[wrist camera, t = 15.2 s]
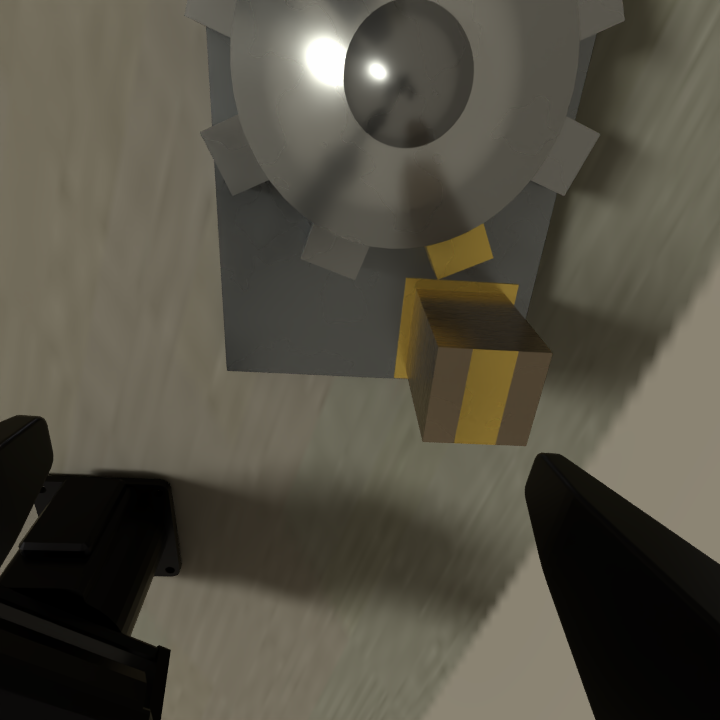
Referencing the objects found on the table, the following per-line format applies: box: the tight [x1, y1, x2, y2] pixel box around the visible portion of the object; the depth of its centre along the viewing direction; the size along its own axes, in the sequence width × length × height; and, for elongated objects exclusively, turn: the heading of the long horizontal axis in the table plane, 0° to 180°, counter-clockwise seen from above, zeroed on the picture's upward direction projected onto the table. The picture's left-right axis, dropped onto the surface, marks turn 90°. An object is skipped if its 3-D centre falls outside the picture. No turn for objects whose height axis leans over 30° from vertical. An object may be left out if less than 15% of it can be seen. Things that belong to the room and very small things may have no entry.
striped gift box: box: [405, 289, 553, 446], centre depth 18 cm, size 4×4×5 cm
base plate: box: [206, 26, 597, 379], centre depth 16 cm, size 22×12×1 cm, turn 176°
